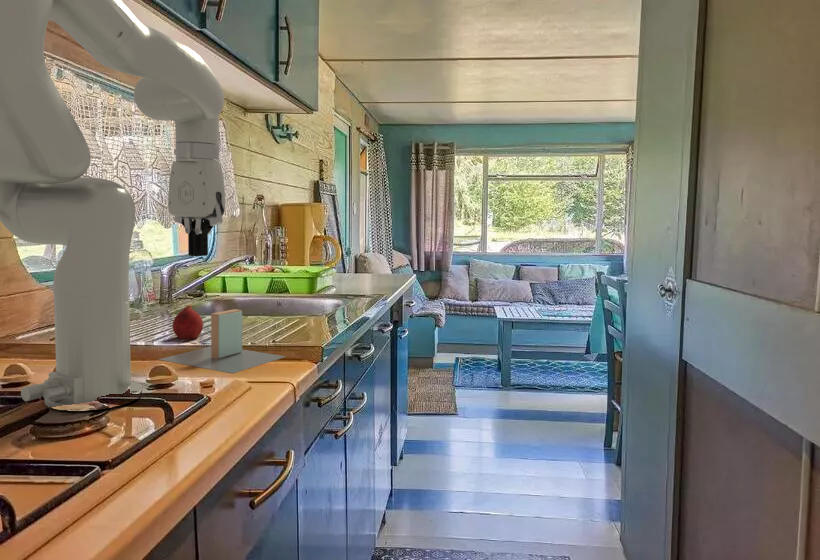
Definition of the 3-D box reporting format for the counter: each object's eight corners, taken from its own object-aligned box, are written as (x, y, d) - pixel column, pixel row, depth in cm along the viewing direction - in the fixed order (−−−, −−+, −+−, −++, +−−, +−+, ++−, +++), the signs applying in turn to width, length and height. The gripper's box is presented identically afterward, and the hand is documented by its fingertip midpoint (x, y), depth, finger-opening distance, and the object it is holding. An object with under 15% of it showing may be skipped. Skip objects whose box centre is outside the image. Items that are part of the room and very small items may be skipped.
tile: (219, 359, 111) (219, 314, 110) (211, 357, 112) (211, 313, 111) (242, 352, 116) (242, 310, 115) (234, 351, 117) (234, 309, 116)
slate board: (232, 380, 102) (232, 373, 102) (158, 366, 109) (158, 359, 109) (286, 362, 114) (286, 356, 114) (216, 351, 122) (216, 345, 122)
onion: (193, 347, 124) (192, 307, 123) (167, 345, 125) (166, 306, 125) (208, 341, 130) (208, 303, 129) (183, 339, 131) (182, 302, 130)
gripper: (151, 153, 113) (152, 254, 115) (213, 152, 106) (214, 259, 108) (183, 157, 120) (184, 252, 122) (243, 156, 113) (243, 257, 115)
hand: (198, 255), depth 115 cm, fingers closed
